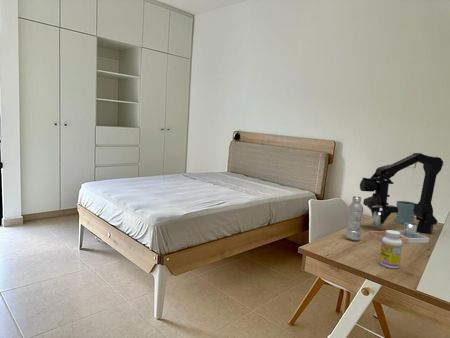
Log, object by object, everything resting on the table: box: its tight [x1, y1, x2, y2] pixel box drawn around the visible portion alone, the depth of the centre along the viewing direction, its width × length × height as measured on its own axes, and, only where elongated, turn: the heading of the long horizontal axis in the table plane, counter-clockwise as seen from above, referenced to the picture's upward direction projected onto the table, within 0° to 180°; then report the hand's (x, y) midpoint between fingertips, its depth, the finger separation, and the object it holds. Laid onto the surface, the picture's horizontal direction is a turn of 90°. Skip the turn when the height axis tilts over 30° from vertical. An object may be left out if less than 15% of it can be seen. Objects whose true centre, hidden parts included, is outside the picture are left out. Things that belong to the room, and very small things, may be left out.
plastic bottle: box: [345, 196, 364, 241], centre depth 143 cm, size 6×7×20 cm
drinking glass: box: [396, 200, 417, 225], centre depth 181 cm, size 10×10×12 cm
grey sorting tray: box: [367, 230, 431, 245], centre depth 146 cm, size 24×12×3 cm, turn 103°
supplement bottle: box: [379, 229, 403, 269], centre depth 116 cm, size 7×7×13 cm
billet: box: [403, 223, 418, 238], centre depth 147 cm, size 5×5×7 cm
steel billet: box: [371, 210, 385, 228], centre depth 159 cm, size 5×5×7 cm
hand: (378, 222), depth 160 cm, fingers closed on steel billet, 5 cm apart
